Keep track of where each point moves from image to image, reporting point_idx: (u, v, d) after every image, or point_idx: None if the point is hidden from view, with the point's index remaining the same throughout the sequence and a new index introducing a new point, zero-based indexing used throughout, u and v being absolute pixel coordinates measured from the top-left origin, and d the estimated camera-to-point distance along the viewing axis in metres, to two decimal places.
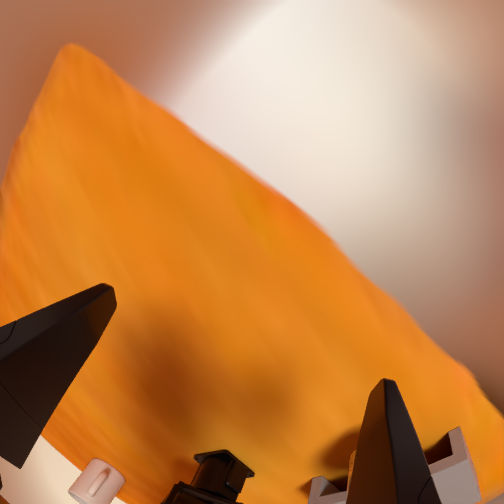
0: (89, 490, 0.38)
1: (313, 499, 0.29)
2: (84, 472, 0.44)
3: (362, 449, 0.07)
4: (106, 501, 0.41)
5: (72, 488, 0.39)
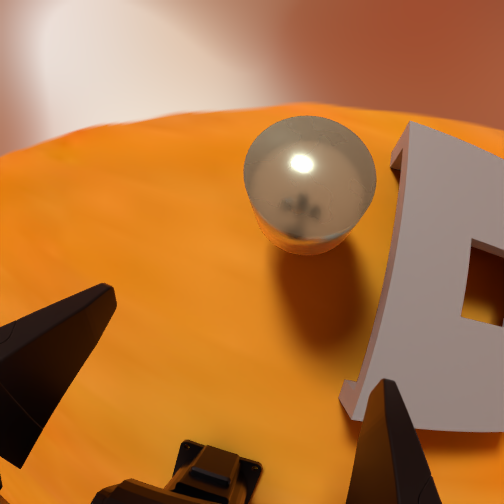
0: None
1: (351, 402, 0.17)
2: None
3: (362, 449, 0.07)
4: None
5: None
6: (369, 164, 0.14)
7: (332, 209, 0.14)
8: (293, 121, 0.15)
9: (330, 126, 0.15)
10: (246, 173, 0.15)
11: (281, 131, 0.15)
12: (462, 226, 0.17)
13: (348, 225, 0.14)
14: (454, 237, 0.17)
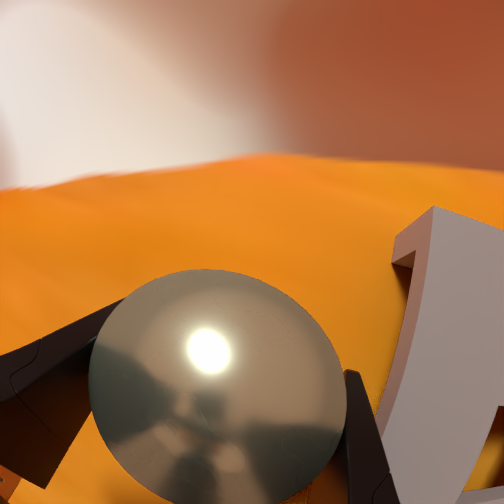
0: None
1: None
2: None
3: None
4: None
5: None
6: (335, 394, 0.06)
7: (243, 480, 0.06)
8: (174, 285, 0.07)
9: (255, 298, 0.07)
10: (92, 394, 0.07)
11: (148, 311, 0.07)
12: (489, 392, 0.09)
13: (272, 503, 0.06)
14: (473, 412, 0.09)
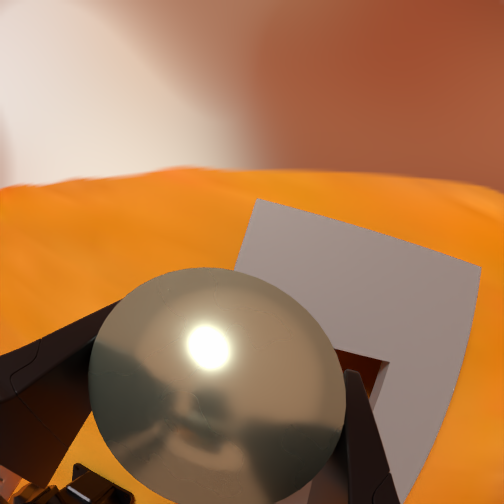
0: None
1: None
2: None
3: None
4: None
5: None
6: (334, 393, 0.06)
7: (243, 478, 0.06)
8: (173, 283, 0.07)
9: (255, 297, 0.07)
10: (92, 392, 0.07)
11: (148, 310, 0.07)
12: None
13: (271, 502, 0.06)
14: None
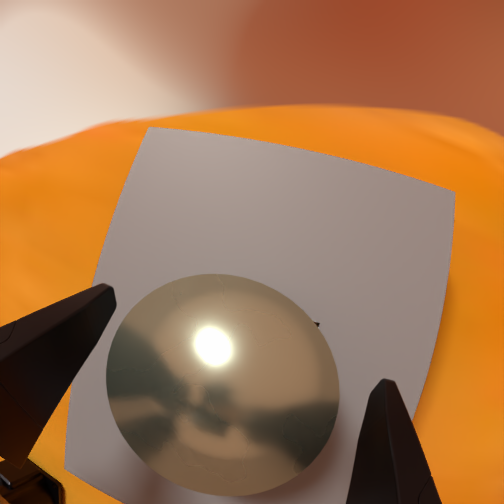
0: None
1: None
2: None
3: (362, 449, 0.07)
4: None
5: None
6: (329, 385, 0.07)
7: (248, 464, 0.07)
8: (185, 288, 0.08)
9: (258, 299, 0.08)
10: (110, 387, 0.08)
11: (163, 311, 0.08)
12: (184, 273, 0.13)
13: (273, 486, 0.07)
14: None
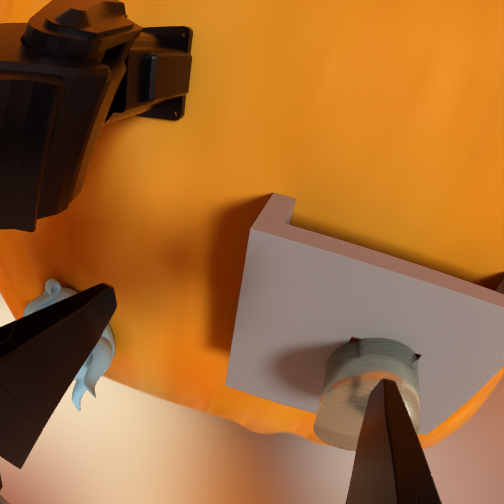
0: None
1: (269, 221, 0.17)
2: None
3: (362, 449, 0.07)
4: None
5: None
6: None
7: (332, 435, 0.16)
8: None
9: None
10: None
11: None
12: (435, 348, 0.17)
13: (320, 437, 0.17)
14: (428, 340, 0.17)
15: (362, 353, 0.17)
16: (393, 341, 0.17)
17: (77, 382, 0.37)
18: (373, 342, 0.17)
